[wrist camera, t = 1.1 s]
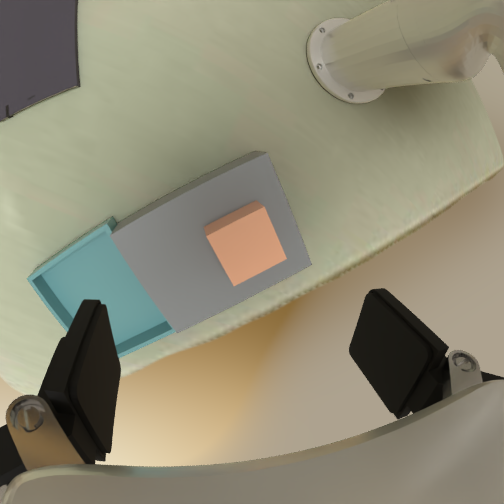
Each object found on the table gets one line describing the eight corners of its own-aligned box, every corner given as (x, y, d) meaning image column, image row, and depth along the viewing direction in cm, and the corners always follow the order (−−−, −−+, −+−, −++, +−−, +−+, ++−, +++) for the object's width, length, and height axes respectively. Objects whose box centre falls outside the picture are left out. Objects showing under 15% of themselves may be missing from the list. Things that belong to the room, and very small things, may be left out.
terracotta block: (256, 200, 29) (264, 206, 27) (277, 248, 32) (286, 258, 29) (203, 226, 29) (206, 236, 26) (228, 273, 32) (233, 286, 29)
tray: (112, 216, 31) (106, 223, 28) (178, 317, 38) (178, 330, 35) (35, 268, 30) (26, 278, 28) (102, 353, 37) (98, 366, 35)
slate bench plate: (255, 150, 32) (267, 152, 28) (296, 249, 38) (311, 264, 34) (118, 222, 32) (109, 235, 27) (176, 310, 38) (177, 333, 33)
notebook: (81, 87, 25) (81, -37, 16) (77, 85, 23) (79, -42, 15) (0, 124, 23) (5, -1, 14) (-6, 124, 21) (0, -4, 13)
